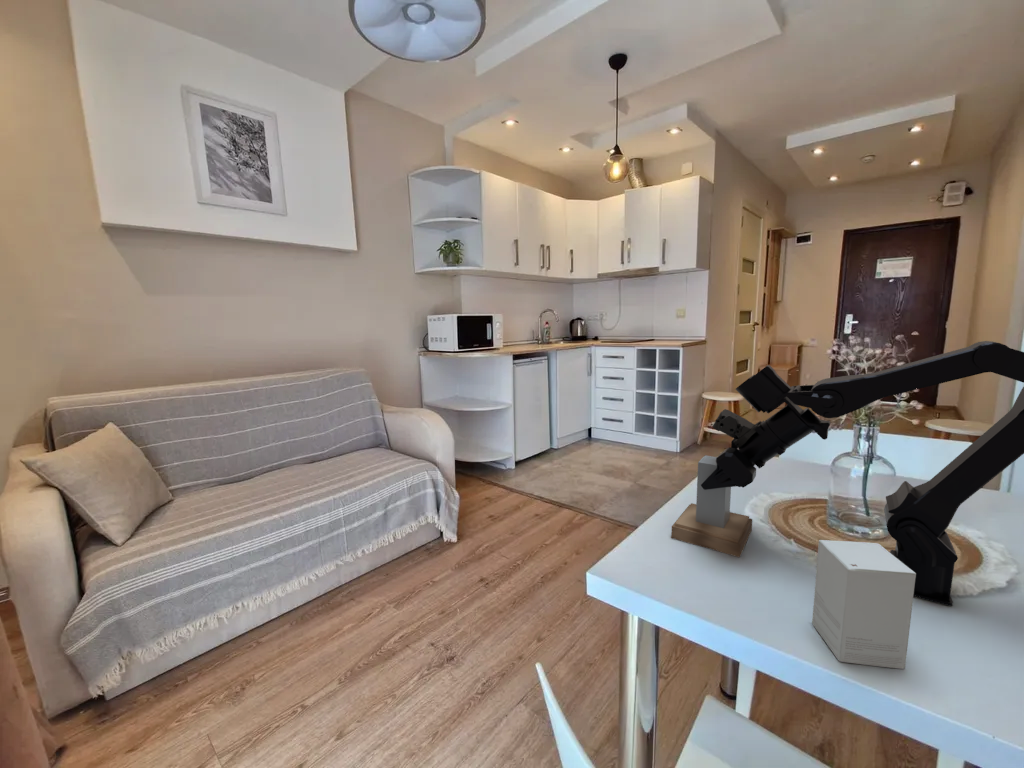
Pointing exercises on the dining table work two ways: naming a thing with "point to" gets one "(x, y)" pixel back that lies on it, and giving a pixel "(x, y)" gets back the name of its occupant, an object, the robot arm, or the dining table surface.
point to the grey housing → (711, 497)
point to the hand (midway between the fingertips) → (708, 479)
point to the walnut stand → (713, 532)
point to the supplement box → (863, 603)
